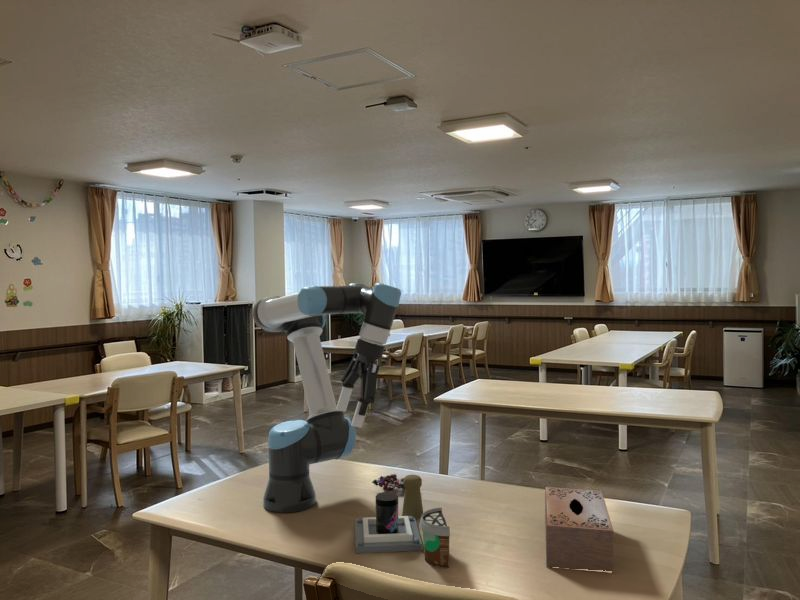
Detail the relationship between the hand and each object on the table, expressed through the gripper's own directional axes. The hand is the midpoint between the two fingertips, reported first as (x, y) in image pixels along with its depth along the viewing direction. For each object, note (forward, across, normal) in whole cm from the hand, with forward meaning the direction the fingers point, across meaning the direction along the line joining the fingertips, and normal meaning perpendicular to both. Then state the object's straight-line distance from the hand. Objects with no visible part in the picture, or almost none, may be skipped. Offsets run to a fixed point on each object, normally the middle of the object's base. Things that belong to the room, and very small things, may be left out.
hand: (348, 418), depth 161 cm
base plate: (+25, -13, -15) cm, 31 cm away
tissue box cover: (+11, -36, -53) cm, 65 cm away
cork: (+22, -2, -26) cm, 35 cm away
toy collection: (+24, +17, -30) cm, 42 cm away
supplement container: (+23, -13, -14) cm, 30 cm away
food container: (+22, -28, -20) cm, 41 cm away
